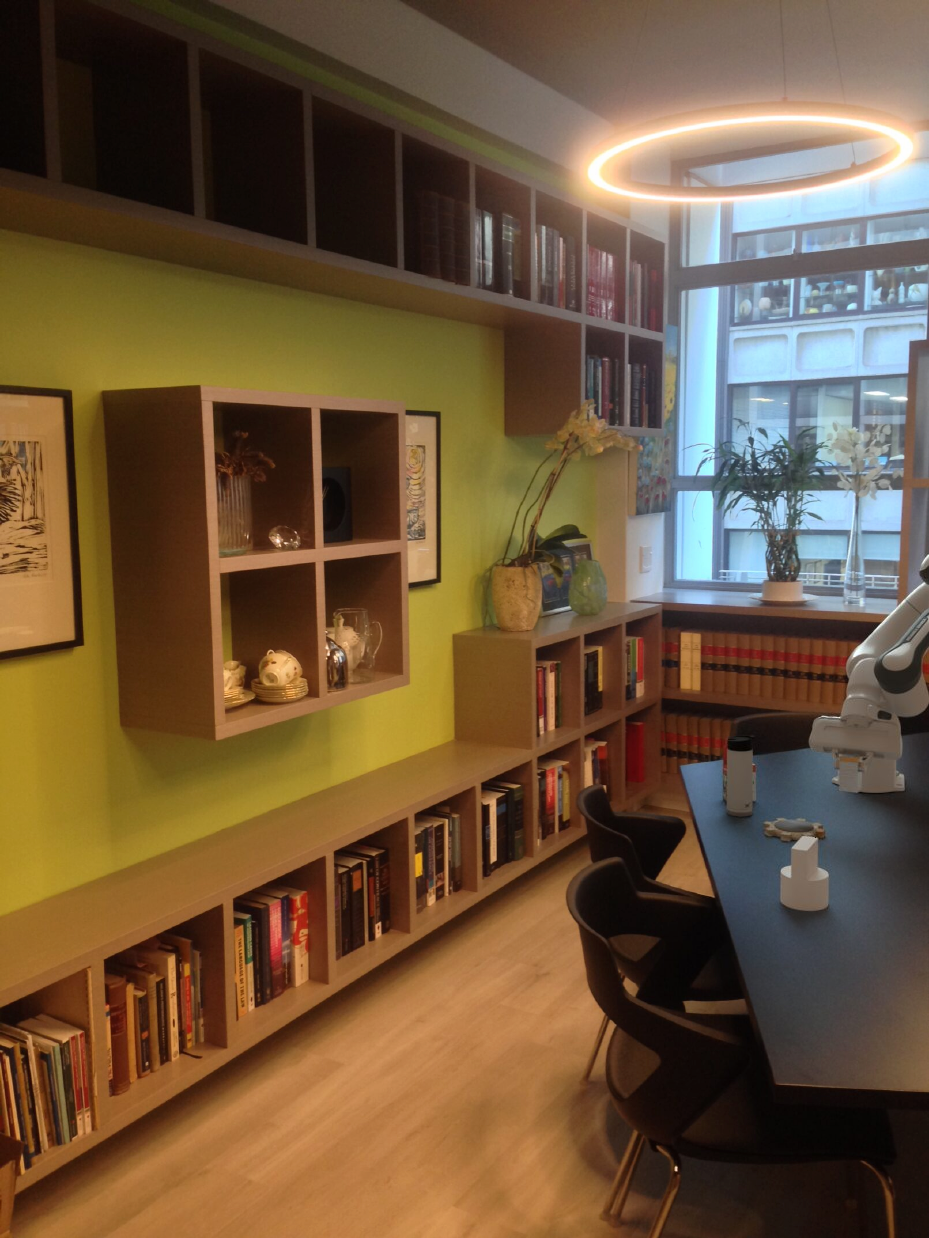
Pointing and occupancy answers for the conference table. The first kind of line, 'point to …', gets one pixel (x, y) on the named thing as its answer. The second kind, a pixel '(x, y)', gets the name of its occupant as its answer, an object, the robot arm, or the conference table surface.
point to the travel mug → (740, 775)
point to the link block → (850, 772)
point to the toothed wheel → (793, 829)
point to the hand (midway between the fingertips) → (849, 769)
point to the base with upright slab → (804, 878)
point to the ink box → (726, 776)
